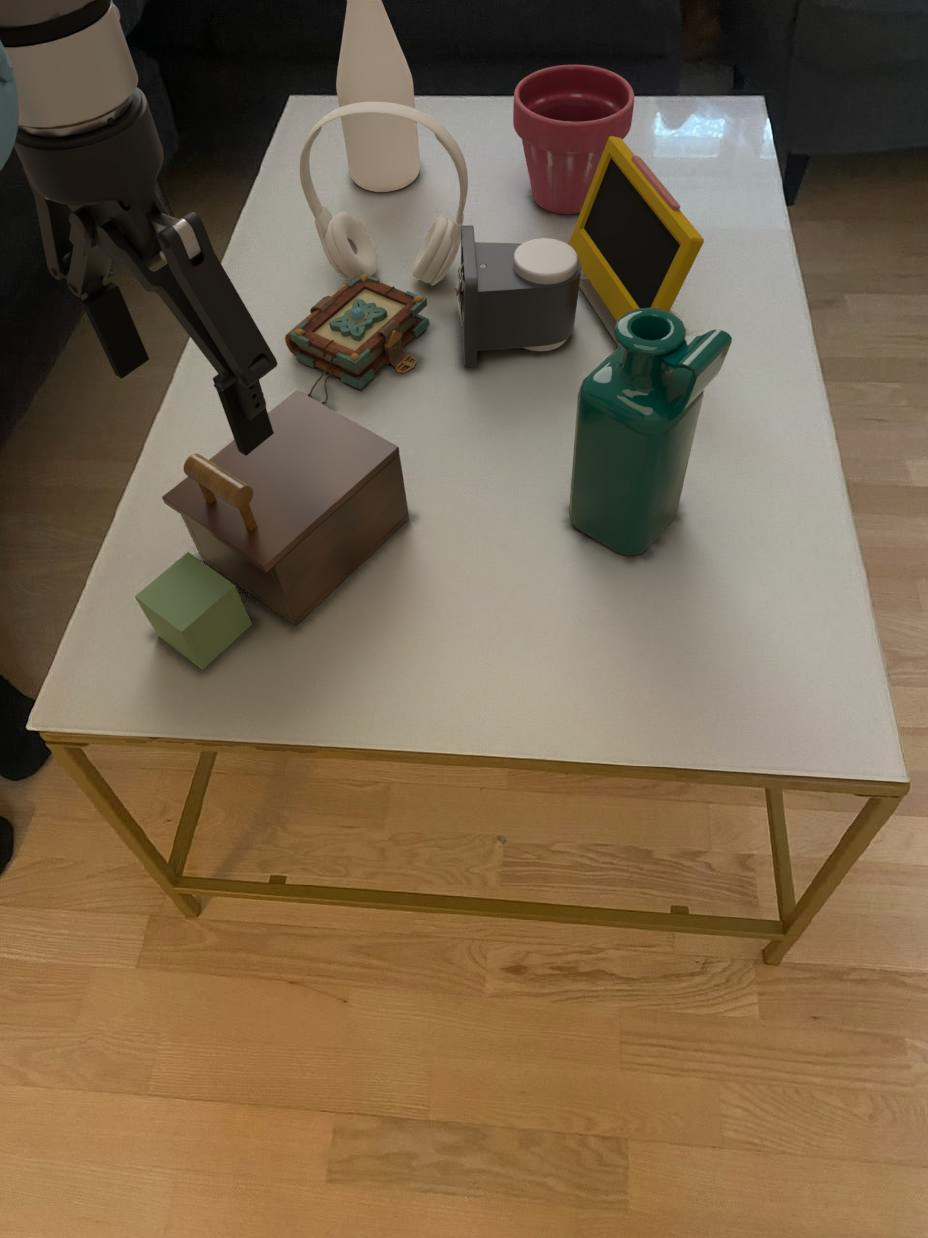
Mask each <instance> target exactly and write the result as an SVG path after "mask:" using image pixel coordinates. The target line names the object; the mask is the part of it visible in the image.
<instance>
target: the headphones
mask: <svg viewBox="0 0 928 1238" xmlns="http://www.w3.org/2000/svg"><path fill="white" fill-rule="evenodd" d="M364 112H376V113H387V114H393V115H398V116H402V117H405V118H408V119H411V120H413V121H415V122H417V124H420V125H422V126H423V127H425V128H427V129H428V130H430V131H431V132H432V133H433V134H434V137H435V139H436V141H438V142H439V144H441V146H442V147H443V148H444V149H445V151H446V152H447V154H448V155H449V157H450V158H451V160H452V162H453V163H454V167H455V170H456V173H457V178H458V182H459V202H458V207H457V210H456V212H455V214H454V216H453V218H452V220H451V219H449V218H448V217H447V215H444V214H441V215H439V216H438V217H437V218H436V219H435V220H434V221H433V223H432V224H431V226H430V228H429V229H428V231H427V233H426V234H425V237H424V239H423V241H422V243H421V245H420V247H419V250H418V252H417V255H416V258H415V260H414V263H413V267H412V277H413V278H414V279H415V280H418V281H419V280H420V281H421V282H423V283H425V284H429V285H430V286H431V287H434V286H435V285H437V284H438V283H439V282H440V281H442V280H443V279H444V277H446V275H447V273H448V272H449V270H450V268H451V267H452V266H453V263H454V261H455V259H456V257H457V255H458V253H459V250H460V247H461V226H464V225H463V224H464V211H465V207H466V203H467V197H468V190H469V176H468V169H467V168H468V167H467V163H466V160H465V157H464V154H463V151H462V150H461V147H460V145H459V144H458V142H457V140H456V139H455V137H454V136H453V135H452V134H451V133H450V131H449V130H448V129H447V128H446V127H445V126H443V125H442V124H441V123H440V122H439V121H438V120H436V119H435V118H433V117H432V116H430V115H428V114H427V113H425V112H423V111H421V110H419V109H416V108H415V109H414V108H411V107H408V106H405V105H401V104H396V103H389V102H360V103H353V104H349V105H346V106H342V107H340V108H339V107H338V108H335V109H333V110H332V111H330V112H328V113H327V114H325V115H324V116H323V117H321V118H320V119H319V120H318V121H317V122H316V124H315V125H314V126H313V127H312V128H311V130H310V131H309V133H308V135H307V137H306V139H305V141H304V144H303V145H302V146H303V147H302V150H301V154H300V157H299V158H300V159H299V178H300V183H301V184H300V185H301V188H302V191H303V194H304V197H305V200H306V202H307V205H308V207H309V209H310V211H311V213H312V216H313V218H314V223H315V228H316V231H317V234H318V237H319V241H320V243H321V247H322V249H323V252H324V255H325V257H326V258H327V260H328V262H329V264H330V266H331V267H332V269H333V270H334V271H335V272H336V273H337V274H338V275H339V277H341V278H343V280H346V281H347V282H349V281H350V280H351V279H353V278H354V277H355V276H357V275H360V274H361V273H364V274H367V275H369V276H372V277H373V275H374V274H375V273H376V272H377V269H378V266H379V265H378V264H379V260H378V252H377V249H376V246H375V242H374V240H373V238H372V237H371V235H370V233H369V231H368V229H367V228H366V227H365V226H364V225H363V223H362V222H361V221H360V220H359V219H358V218H357V217H356V216H354V215H352V214H351V213H348V212H346V211H340V212H338V213H336V214H335V215H334V216H333V215H332V213H331V212H330V210H329V209H328V208H327V207H326V206H325V205H322V203H321V201H320V198H319V196H318V195H317V191H316V188H315V187H314V184H313V179H312V175H311V169H310V155H311V150H312V146H313V144H314V142H315V141H316V139H317V137H318V136H319V134H320V133H321V131H322V128H323V126H324V125H326V124H328V123H329V122H331V121H334V120H335V119H339V118H341V116H344V115H348V114H354V113H364Z"/></svg>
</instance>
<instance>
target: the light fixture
mask: <svg viewBox="0 0 928 1238" xmlns="http://www.w3.org/2000/svg"><path fill="white" fill-rule="evenodd" d="M475 240H476V238H475V227H474V225H462V226H461V243H460V266H459V267H458V269H457V285H456V287H455V288H454V289H455V292H456V304H457V311H458V318H459V320H460V324H461V333H462V351H463V353H462V354H463V366H464V367H477V361H478V360H477V356H478V351H491V350H506V349H518V348H520V349H521V348H523V349H524V350H528V351H532V352H548V351H553V350H555V349H559V348H560V347H561V346H562V345H564V344H565V343H566V342H567V340H568V338H570V337H571V335H572V334H573V332H574V329H575V322H576V316H577V315H576V314H577V306H578V299H579V290H580V287H579V286H580V280H581V275H582V268H581V262H580V260H579V258H578V256H577V253H576V252H575V250H574V249H573V248H572V247H571V246H570V245H568V244H569V243H566V242H564V241H563V240H559V239H555V238H549V237H539V238H534V239H529V240H527V241H525V242H523V243H521V242H520V243H519V242H482V241H480V242H479V241H478V242H477V241H475Z"/></svg>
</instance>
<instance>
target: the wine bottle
mask: <svg viewBox="0 0 928 1238" xmlns="http://www.w3.org/2000/svg"><path fill="white" fill-rule="evenodd" d="M383 3H384V2H383V1H382V0H346V9H345V17H344V23H343V29H342V30H343V31H342V37H341V44H340V51H339V59H338V64H337V71H336V82H335V84H336V85H335V88H336V96H337V102H338V108H340V107H342V106H346V105H349V104H353V103H360V102H389V103H396V104H401V105H405V106H408V107H411V108H414V109H416V101H415V89H414V79H413V76H412V73H411V70H410V67H409V64H408V62H407V59H406V57H405V54H404V52H403V49H402V47H401V45H400V42H399V40H398V37H397V35H396V32H395V31H394V28H393V26H392V23H391V21H390V18H389V16H388V13H387V11H386V8H385V6H384V4H383ZM340 120H341V127H342V133H343V138H344V145H345V151H346V157H347V162H348V163H347V164H348V171H349V174H350V176H351V179H352V180H353V183H355V184H356V185H357V186H358V187H360V188H362V189H364V190H366V191H370V192H374V193H375V192H376V193H388V192H394V191H397V190H400V189H403V188H405V187H408V186H409V185H411V184H412V183H413V182H414V181H415V180H416V179H417V177H418V176H419V173H420V171H421V156H420V146H419V145H420V144H419V134H418V122H415V121H413V120H411V119H408V118H405V117H402V116H398V115H393V114H387V113H376V112H364V113H354V114H348V115H344V116H341V117H340Z"/></svg>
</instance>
